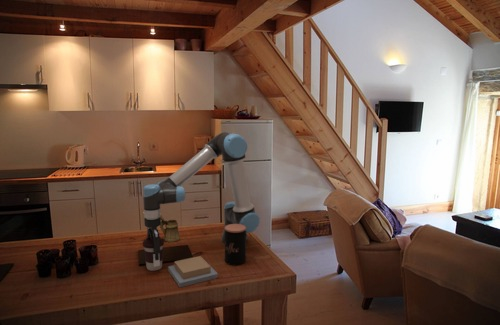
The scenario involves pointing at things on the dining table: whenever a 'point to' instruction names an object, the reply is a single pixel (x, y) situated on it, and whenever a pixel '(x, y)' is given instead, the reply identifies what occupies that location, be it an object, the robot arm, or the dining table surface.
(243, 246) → the coffee jar
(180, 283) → the base
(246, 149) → the robot arm
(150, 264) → the coffee cup
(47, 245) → the dining table surface
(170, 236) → the brass coffee pot
